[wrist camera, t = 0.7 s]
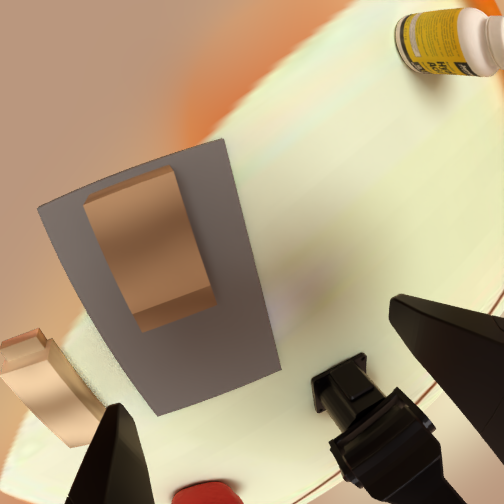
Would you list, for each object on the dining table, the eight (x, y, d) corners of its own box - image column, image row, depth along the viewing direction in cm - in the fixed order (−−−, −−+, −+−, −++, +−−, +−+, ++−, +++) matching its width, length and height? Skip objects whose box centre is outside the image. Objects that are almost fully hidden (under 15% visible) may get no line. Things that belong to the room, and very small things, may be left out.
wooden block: (208, 285, 22) (217, 305, 20) (140, 310, 21) (142, 332, 19) (169, 164, 18) (173, 171, 16) (89, 194, 17) (82, 205, 15)
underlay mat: (279, 366, 28) (281, 369, 28) (156, 412, 26) (157, 416, 25) (221, 138, 19) (223, 138, 18) (39, 206, 16) (36, 208, 16)
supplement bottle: (398, 72, 21) (502, 76, 12) (387, 11, 18) (489, -5, 10) (437, 75, 22) (531, 84, 14) (429, 20, 20) (521, 15, 11)
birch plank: (113, 416, 25) (115, 437, 22) (70, 427, 24) (70, 448, 21) (44, 325, 19) (37, 347, 17) (-2, 342, 18) (-10, 363, 16)
